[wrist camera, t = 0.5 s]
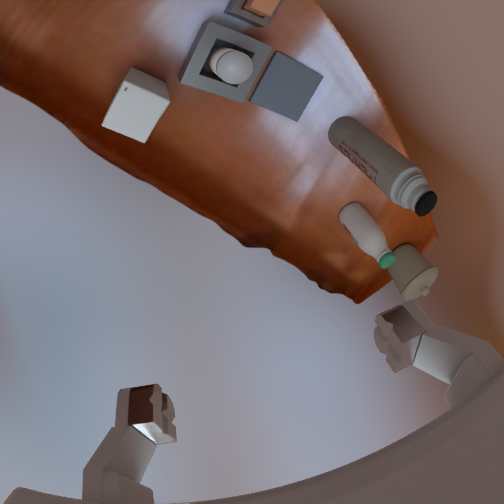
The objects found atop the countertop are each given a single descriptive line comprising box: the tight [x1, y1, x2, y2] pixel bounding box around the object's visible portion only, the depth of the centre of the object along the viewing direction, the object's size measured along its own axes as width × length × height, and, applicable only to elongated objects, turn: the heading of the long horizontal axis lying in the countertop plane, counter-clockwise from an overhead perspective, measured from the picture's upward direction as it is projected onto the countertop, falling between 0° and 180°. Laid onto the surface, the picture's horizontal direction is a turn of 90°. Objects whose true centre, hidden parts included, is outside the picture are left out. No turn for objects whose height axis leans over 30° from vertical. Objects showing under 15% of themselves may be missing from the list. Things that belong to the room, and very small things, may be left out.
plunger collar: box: [224, 0, 283, 27], centre depth 33 cm, size 6×6×5 cm
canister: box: [388, 244, 438, 300], centre depth 98 cm, size 18×18×21 cm
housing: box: [178, 21, 273, 104], centre depth 39 cm, size 11×11×6 cm
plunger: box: [241, 0, 280, 16], centre depth 31 cm, size 3×3×6 cm
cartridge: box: [205, 46, 253, 84], centre depth 37 cm, size 5×5×11 cm
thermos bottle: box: [329, 117, 437, 216], centre depth 50 cm, size 8×8×28 cm
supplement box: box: [102, 67, 170, 143], centre depth 37 cm, size 7×7×13 cm
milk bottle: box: [339, 202, 396, 269], centre depth 72 cm, size 8×8×20 cm
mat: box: [248, 51, 323, 122], centre depth 48 cm, size 11×11×1 cm
